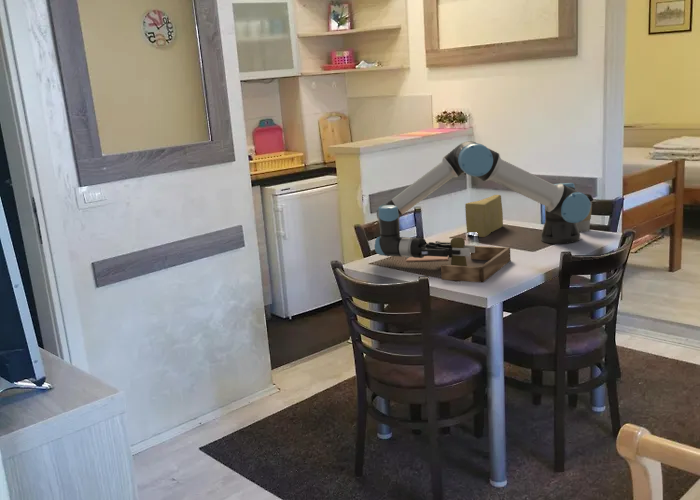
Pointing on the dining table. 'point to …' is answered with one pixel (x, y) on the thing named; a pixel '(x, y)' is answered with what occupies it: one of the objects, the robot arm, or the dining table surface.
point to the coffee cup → (585, 224)
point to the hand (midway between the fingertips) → (471, 250)
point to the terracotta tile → (427, 258)
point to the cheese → (484, 215)
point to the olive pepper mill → (458, 259)
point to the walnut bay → (478, 274)
